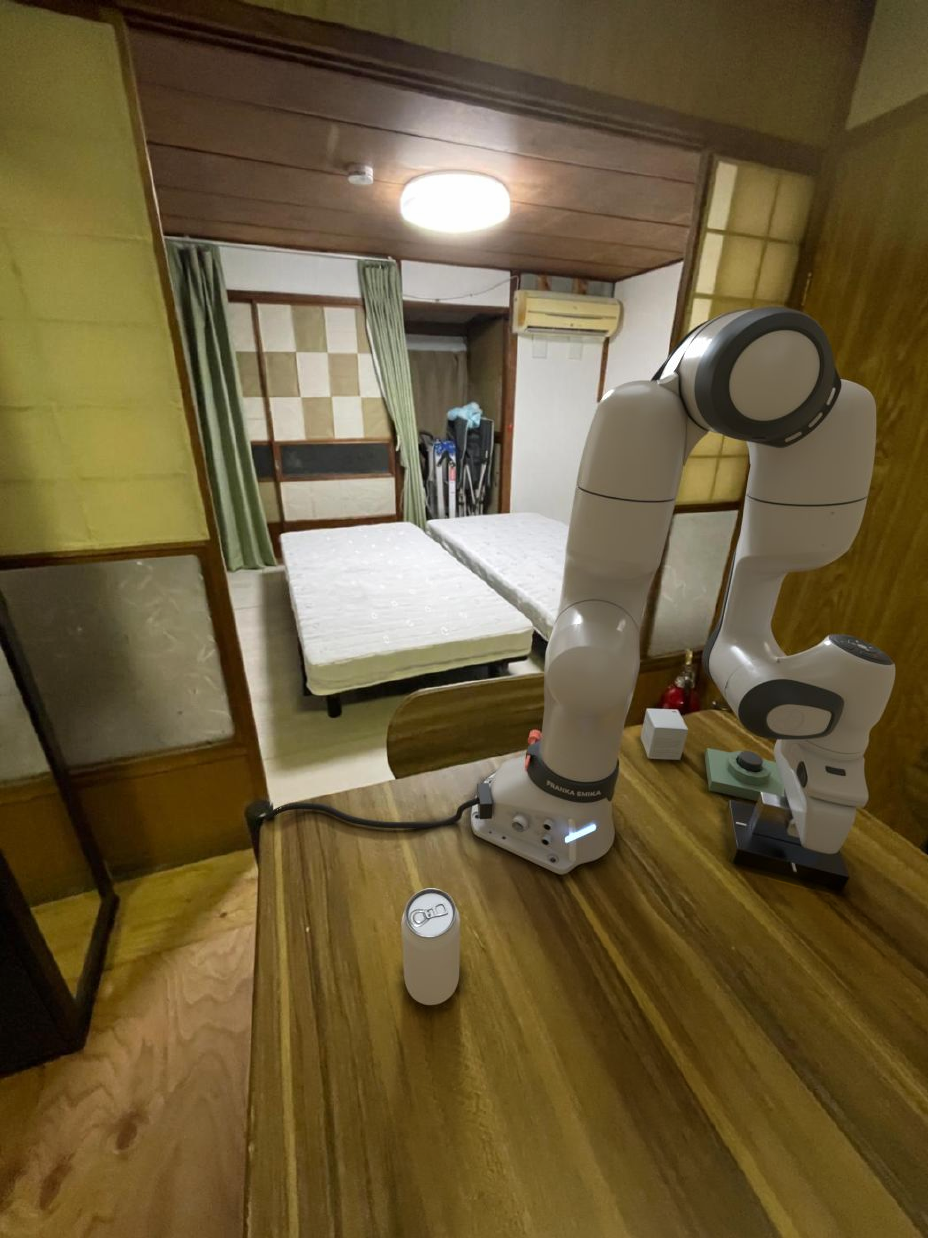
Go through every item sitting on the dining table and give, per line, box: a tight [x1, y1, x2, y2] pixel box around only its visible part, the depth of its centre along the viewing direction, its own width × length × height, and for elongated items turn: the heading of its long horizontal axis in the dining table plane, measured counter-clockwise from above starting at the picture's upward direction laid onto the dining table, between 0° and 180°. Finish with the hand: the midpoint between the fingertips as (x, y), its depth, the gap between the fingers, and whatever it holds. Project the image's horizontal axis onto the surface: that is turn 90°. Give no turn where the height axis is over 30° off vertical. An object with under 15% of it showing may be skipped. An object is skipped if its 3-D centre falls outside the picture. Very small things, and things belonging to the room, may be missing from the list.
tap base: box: [724, 799, 850, 892], centre depth 77 cm, size 14×13×3 cm
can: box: [400, 887, 461, 1006], centre depth 58 cm, size 6×6×12 cm
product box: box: [640, 707, 689, 761], centre depth 96 cm, size 6×6×7 cm
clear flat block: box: [750, 792, 802, 845], centre depth 75 cm, size 9×2×6 cm, turn 71°
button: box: [737, 750, 764, 772], centre depth 88 cm, size 4×4×2 cm
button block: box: [704, 747, 783, 802], centre depth 89 cm, size 12×9×4 cm
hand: (789, 822), depth 75 cm, fingers closed on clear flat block, 2 cm apart
